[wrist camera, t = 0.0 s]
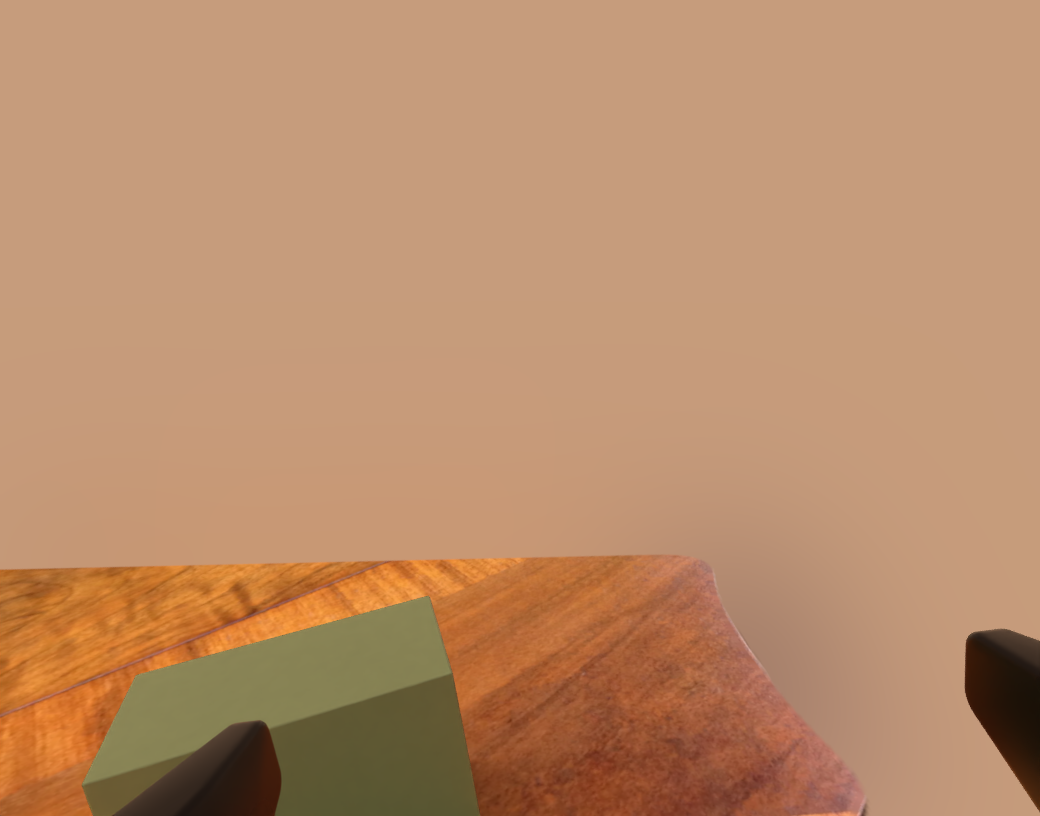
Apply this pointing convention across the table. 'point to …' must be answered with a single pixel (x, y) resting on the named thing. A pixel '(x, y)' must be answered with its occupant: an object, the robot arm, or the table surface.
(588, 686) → the table surface
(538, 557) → the table surface
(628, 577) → the table surface
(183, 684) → the olive l-shaped block
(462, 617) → the table surface
